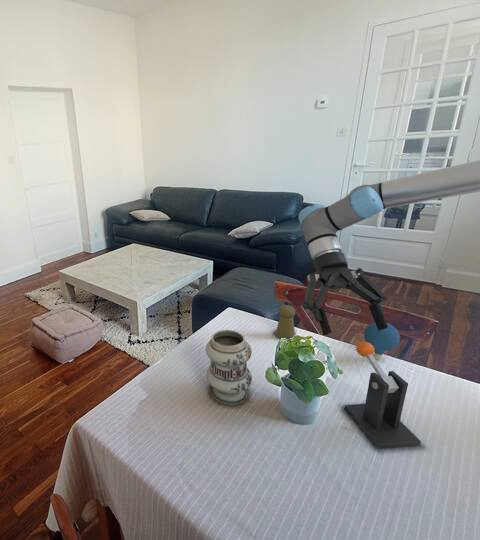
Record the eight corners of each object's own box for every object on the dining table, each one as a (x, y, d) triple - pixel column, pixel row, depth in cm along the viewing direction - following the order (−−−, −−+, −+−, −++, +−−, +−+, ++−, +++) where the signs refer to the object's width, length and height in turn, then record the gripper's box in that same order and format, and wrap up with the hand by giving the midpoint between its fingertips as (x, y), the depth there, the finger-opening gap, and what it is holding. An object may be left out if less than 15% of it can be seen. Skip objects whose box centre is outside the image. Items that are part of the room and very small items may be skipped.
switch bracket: (344, 408, 85) (350, 363, 80) (380, 405, 85) (389, 359, 80) (377, 449, 74) (388, 398, 69) (420, 445, 73) (433, 395, 69)
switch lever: (350, 347, 84) (356, 339, 81) (365, 346, 84) (371, 338, 81) (379, 394, 75) (386, 387, 73) (395, 393, 75) (403, 386, 73)
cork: (279, 328, 122) (281, 301, 118) (297, 333, 118) (299, 305, 114) (272, 336, 118) (274, 308, 114) (290, 341, 114) (293, 312, 110)
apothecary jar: (218, 373, 103) (217, 321, 97) (258, 388, 95) (260, 333, 89) (198, 396, 95) (196, 341, 88) (240, 414, 87) (241, 356, 81)
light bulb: (373, 347, 106) (379, 314, 102) (402, 361, 99) (409, 326, 94) (353, 355, 104) (359, 321, 99) (382, 370, 96) (389, 334, 92)
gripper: (365, 257, 96) (396, 330, 87) (277, 266, 97) (298, 339, 88) (382, 245, 89) (417, 322, 80) (286, 254, 90) (311, 332, 82)
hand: (355, 331), depth 84 cm, fingers open, 13 cm apart
